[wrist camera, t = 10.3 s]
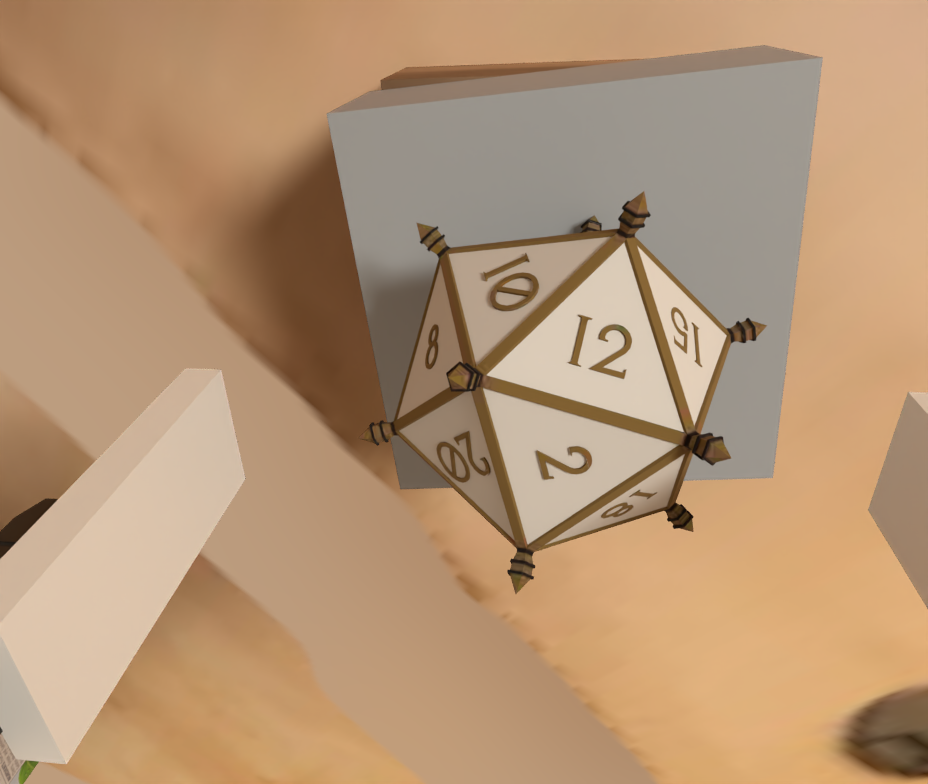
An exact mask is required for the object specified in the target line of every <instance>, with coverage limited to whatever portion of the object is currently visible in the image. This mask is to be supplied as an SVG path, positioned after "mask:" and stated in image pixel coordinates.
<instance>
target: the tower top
mask: <svg viewBox="0 0 928 784" xmlns="http://www.w3.org/2000/svg"><path fill="white" fill-rule="evenodd" d="M822 59H823V58H822V57H818V56H813V55H808V54H803V53H799V52H794V51H789V50H784V49H780V48H775V47H770V46H765V45H763V46H755V47H746V48H738V49H729V50H720V51H712V52H703V53H695V54H686V55H678V56H669V57H661V58H652V59H643V60H635V61H626V62H618V63H609V64H601V65H592V66H584V67H575V68H567V69H558V70H549V71H541V72H532V73H524V74H515V75H507V76H498V77H490V78H481V79H473V80H464V81H456V82H447V83H439V84H430V85H421V86H413V87H404V88H396V89H387V90H378V91H370V92H368V93H366V94H364V95H362V96H360V97H358V98H356V99H354V100H352V101H350V102H348V103H346V104H344V105H343V106H341V107H339V108H337V109H335V110H333V111H331V112H329V113H327V118H328V123H329V128H330V133H331V138H332V144H333V149H334V154H335V159H336V164H337V169H338V174H339V179H340V184H341V189H342V194H343V199H344V205H345V210H346V215H347V220H348V225H349V230H350V235H351V240H352V245H353V250H354V255H355V260H356V266H357V271H358V276H359V281H360V286H361V291H362V296H363V301H364V306H365V311H366V316H367V322H368V327H369V332H370V337H371V342H372V347H373V352H374V357H375V362H376V367H377V372H378V377H379V383H380V388H381V393H382V398H383V403H384V408H385V413H386V418H387V422H393V421H394V418H395V414H396V411H397V407H398V403H399V400H400V396H401V393H402V389H403V385H404V382H405V378H406V375H407V371H408V367H409V364H410V360H411V357H412V353H413V350H414V346H415V342H416V339H417V335H418V332H419V328H420V324H421V321H422V317H423V314H424V310H425V306H426V303H427V299H428V296H429V292H430V289H431V285H432V281H433V278H434V274H435V271H436V267H437V263H438V260H439V258H438V256H437V254H435V253H434V252H432V251H428V250H427V249H428V248H427V247H426V246H425V245H424V244H421V243H420V241H421V239H420V235H419V231H418V227H417V223H420V224H424V225H427V226H431V227H437V226H438V229H437V230H438V231H439V232H440V234H441V235H443V234H444V235H445V237H444V240H445V242H446V244H447V246H449V247H450V248H452V247H460V246H469V245H478V244H487V243H496V242H504V241H513V240H522V239H531V238H540V237H548V236H557V235H566V234H575V233H580V232H582V228H581V225H582V224H584V223H585V222H586V221H587V220H588V219H589V220H590V219H591V218H592V217H593V216H594V215H595V217H596V218H597V220H598V221H599V223H602V230H610V229H619V227H620V221H619V220H618V218H619V216H620V215H621V214H622V213H623V211H624V210H623V209H622V207H623V205H624V204H625V203H626V202H627V201H631V200H633V199H634V198H635V197H637V196H638V195H639V194H641V193H642V192H643V191H645V197H646V204H647V210H648V212H649V213H650V214H651V216H650V217H646V219H645V221H644V224H645V227H644V228H640V229H639V230H638V231H637V232H636V233H635V237H636V238H637V239H638V240H639V241H640V242H641V243H642V244H643V245H644V246H645V247H646V248H647V249H648V250H649V251H650V252H651V253H652V254H653V255H654V256H655V257H656V258H657V259H658V260H659V261H660V262H661V263H662V264H663V265H664V266H665V267H666V268H667V269H668V270H669V271H670V272H671V273H672V274H673V275H674V276H675V277H676V278H677V279H678V280H679V281H680V282H681V283H682V284H683V285H684V286H685V287H686V288H687V289H688V290H689V291H690V292H691V293H692V294H693V295H694V296H695V297H696V298H697V299H698V300H699V301H700V302H701V303H702V304H703V305H704V306H705V307H706V308H707V309H708V310H709V311H710V312H711V313H712V314H713V315H714V316H715V317H716V319H717V320H718V321H719V322H720V323H721V324H722V325H723V326H724V327H725V328H731V327H733V326H734V325H736V322H737V321H739V322H740V323H741V322H744V321H746V318H749V319H750V320H751V321H754V322H758V323H761V324H764V325H767V326H766V328H765V329H764V330H763V331H762V332H761V333H760V334H759V335H758V336H757V338H756V341H751V340H748V341H746V343H740V342H733V343H731V345H730V348H729V351H728V354H727V357H726V360H725V363H724V366H723V369H722V372H721V375H720V378H719V381H718V384H717V387H716V389H715V392H714V395H713V398H712V401H711V404H710V407H709V410H708V413H707V416H706V419H705V422H704V425H703V428H702V431H701V434H706V433H713V436H714V437H719V436H722V437H723V440H724V445H725V447H726V449H727V450H728V452H729V454H730V456H731V459H727V460H724V461H720V462H716V463H715V464H714V465H713V466H712V465H710V464H709V463H708V462H706V461H705V460H701V459H699V458H698V457H697V456H695V455H694V454H693V456H692V459H691V461H690V464H689V467H688V470H687V472H686V475H685V478H684V480H683V481H688V480H721V479H754V478H773V472H774V464H775V455H776V447H777V438H778V430H779V422H780V413H781V405H782V396H783V388H784V379H785V371H786V362H787V354H788V346H789V337H790V329H791V320H792V312H793V303H794V295H795V286H796V278H797V270H798V261H799V253H800V244H801V236H802V227H803V219H804V211H805V202H806V194H807V185H808V177H809V168H810V160H811V151H812V143H813V135H814V126H815V118H816V109H817V101H818V92H819V84H820V75H821V67H822ZM390 439H391V444H392V449H393V454H394V459H395V464H396V469H397V474H398V479H399V484H400V489H424V488H453V487H452V486H451V485H449V484H448V483H447V482H446V481H445V480H444V479H443V478H442V477H441V476H440V475H439V474H438V473H437V472H436V471H435V470H434V469H433V468H432V467H431V466H430V465H428V464H427V463H426V462H425V461H424V460H423V459H422V458H421V457H420V456H419V455H418V454H417V453H416V452H415V451H414V450H413V449H412V448H411V447H410V446H408V445H407V444H406V443H405V442H404V441H403V440H402V439H401V438H400V437H399V436H393V437H391V438H390Z"/></svg>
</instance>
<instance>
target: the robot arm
mask: <svg viewBox="0 0 928 784" xmlns="http://www.w3.org/2000/svg"><path fill="white" fill-rule="evenodd" d="M245 479H246V478H245V474H244V470H243V465H242V460H241V456H240V452H239V447H238V443H237V438H236V434H235V429H234V425H233V420H232V416H231V411H230V407H229V402H228V398H227V394H226V389H225V384H224V380H223V376H222V371H221V369H193V368H185V369H184V370H183V371H182V372H181V373H180V374H179V375H178V376H177V377H176V378H175V379H174V381H172V382H171V384H170V385H169V386H168V387H167V388H166V389H165V390H164V391H163V392H162V393H161V394H160V395H159V396H158V397H157V398H156V399H155V400H154V401H153V402H152V403H151V404H150V405H149V406H148V407H147V408H146V409H145V411H143V412H142V413H141V415H139V417H138V418H137V419H136V420H135V421H134V422H133V423H132V424H131V425H130V426H129V427H128V428H127V429H126V430H125V431H124V432H123V433H122V434H121V435H120V436H119V437H118V438H117V439H116V440H115V441H114V442H113V443H112V445H111V446H110V447H108V449H107V450H106V451H105V452H104V453H103V454H102V455H101V456H100V457H99V458H98V459H97V460H96V461H95V462H94V463H93V464H92V465H91V466H90V467H89V468H88V469H87V470H86V471H85V472H84V473H83V474H82V475H81V476H80V477H79V478H78V479H77V480H76V482H75V483H74V484H73V485H72V486H71V487H70V488H69V489H68V490H67V491H66V492H65V493H64V494H63V495H62V496H61V497H60V498H59V499H44V500H43V501H41V502H39V503H38V504H36V505H34V506H33V507H31V508H30V509H28V510H26V511H25V512H23V513H21V514H20V515H18V516H16V517H15V518H14V519H13V520H12V521H11V522H10V523H9V524H8V525H6V526H5V527H4V528H3V529H2V530H1V531H0V735H1V734H2V735H3V737H4V739H5V741H6V742H7V744H8V746H9V748H10V749H11V751H12V753H13V755H14V756H15V758H16V759H19V760H29V761H39V762H49V763H59V764H67V763H68V761H69V759H70V758H71V756H72V755H73V753H74V751H75V750H76V748H77V747H78V745H79V743H80V742H81V740H82V739H83V737H84V735H85V734H86V732H87V731H88V729H89V728H90V726H91V724H92V723H93V721H94V720H95V718H96V716H97V715H98V713H99V712H100V710H101V708H102V707H103V705H104V704H105V702H106V700H107V699H108V697H109V696H110V694H111V692H112V691H113V689H114V688H115V686H116V684H117V683H118V681H119V680H120V678H121V677H122V675H123V673H124V672H125V670H126V669H127V667H128V665H129V664H130V662H131V661H132V659H133V657H134V656H135V654H136V653H137V651H138V649H139V648H140V646H141V645H142V643H143V641H144V640H145V638H146V637H147V635H148V633H149V632H150V630H151V629H152V627H153V626H154V624H155V622H156V621H157V619H158V618H159V616H160V614H161V613H162V611H163V610H164V608H165V606H166V605H167V603H168V602H169V600H170V598H171V597H172V595H173V594H174V592H175V590H176V589H177V587H178V586H179V584H180V582H181V581H182V579H183V578H184V576H185V575H186V573H187V571H188V570H189V568H190V567H191V565H192V563H193V562H194V560H195V559H196V557H197V555H198V554H199V552H200V551H201V549H202V547H203V546H204V544H205V543H206V541H207V539H208V538H209V536H210V534H211V533H212V531H213V530H214V528H215V527H216V525H217V524H218V522H219V520H220V519H221V517H222V516H223V514H224V512H225V511H226V509H227V508H228V506H229V504H230V503H231V501H232V500H233V498H234V496H235V495H236V493H237V492H238V490H239V488H240V487H241V485H242V484H243V482H244V480H245ZM868 511H869V512H870V514H871V516H872V517H873V519H874V521H875V522H876V524H877V526H878V527H879V529H880V531H881V532H882V534H883V536H884V537H885V539H886V541H887V542H888V544H889V545H890V547H891V549H892V550H893V552H894V554H895V555H896V557H897V559H898V560H899V562H900V564H901V565H902V567H903V569H904V570H905V572H906V574H907V575H908V577H909V579H910V580H911V582H912V584H913V585H914V587H915V589H916V590H917V592H918V593H919V595H920V597H921V598H922V600H923V602H924V603H925V605H926V607H927V608H928V393H925V392H908V394H907V397H906V400H905V403H904V406H903V408H902V411H901V414H900V417H899V420H898V423H897V426H896V429H895V432H894V435H893V438H892V441H891V444H890V447H889V450H888V453H887V456H886V459H885V461H884V464H883V467H882V470H881V473H880V476H879V479H878V482H877V485H876V488H875V491H874V494H873V497H872V500H871V503H870V506H869V509H868Z"/></svg>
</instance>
